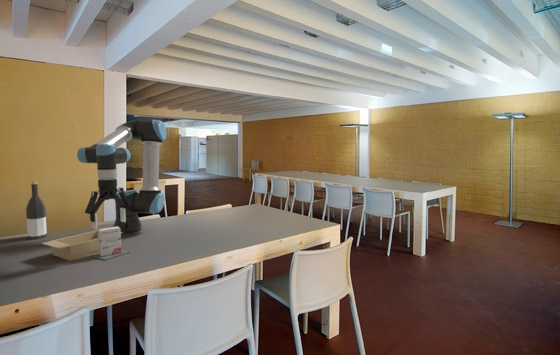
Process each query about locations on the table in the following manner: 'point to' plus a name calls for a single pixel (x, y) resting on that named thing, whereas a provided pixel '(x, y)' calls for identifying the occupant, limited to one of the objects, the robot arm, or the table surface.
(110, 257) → the mat
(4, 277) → the table surface
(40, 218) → the wine bottle
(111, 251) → the ink box
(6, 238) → the table surface
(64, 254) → the tan shallow open box
